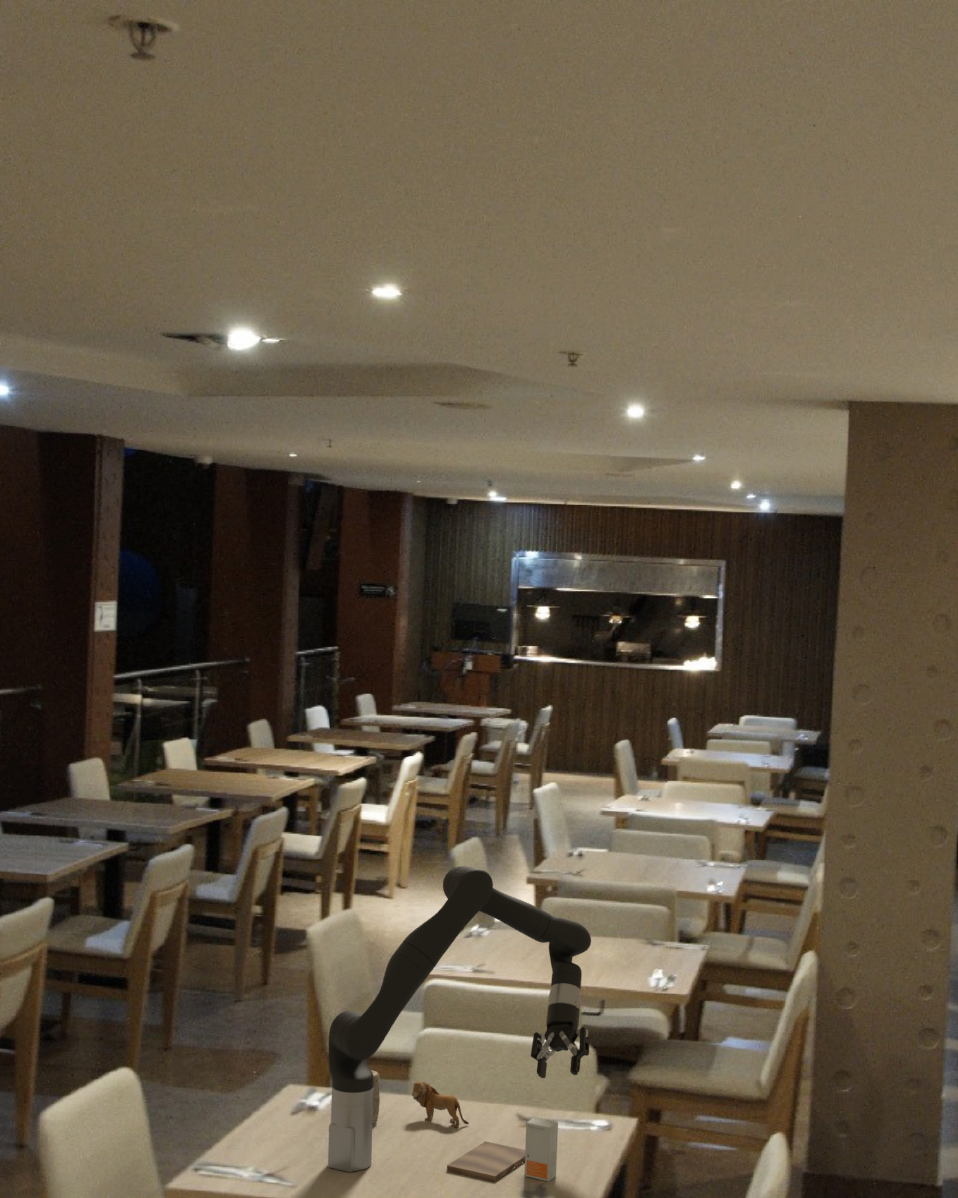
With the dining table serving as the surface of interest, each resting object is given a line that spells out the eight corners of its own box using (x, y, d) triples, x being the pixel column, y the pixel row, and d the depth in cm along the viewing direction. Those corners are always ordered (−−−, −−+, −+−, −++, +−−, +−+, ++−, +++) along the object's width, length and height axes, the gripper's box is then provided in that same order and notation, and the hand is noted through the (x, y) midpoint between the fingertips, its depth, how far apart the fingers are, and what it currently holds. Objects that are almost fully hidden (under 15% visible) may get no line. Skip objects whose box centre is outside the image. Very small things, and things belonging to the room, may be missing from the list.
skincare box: (523, 1177, 343) (525, 1122, 343) (532, 1171, 346) (533, 1117, 346) (548, 1182, 340) (550, 1127, 340) (557, 1176, 344) (558, 1122, 344)
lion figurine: (407, 1121, 377) (408, 1083, 377) (416, 1114, 382) (417, 1077, 382) (465, 1129, 372) (466, 1091, 372) (472, 1122, 377) (473, 1085, 377)
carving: (384, 1121, 377) (386, 1071, 377) (366, 1129, 370) (368, 1079, 370) (363, 1115, 380) (364, 1066, 380) (344, 1124, 373) (346, 1074, 373)
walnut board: (495, 1181, 339) (495, 1176, 339) (446, 1171, 345) (447, 1165, 345) (531, 1156, 355) (532, 1151, 355) (485, 1146, 361) (485, 1141, 361)
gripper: (529, 1004, 367) (522, 1072, 358) (582, 998, 360) (576, 1067, 351) (546, 1016, 372) (539, 1084, 362) (598, 1010, 365) (593, 1078, 355)
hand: (557, 1075), depth 357 cm, fingers open, 8 cm apart
